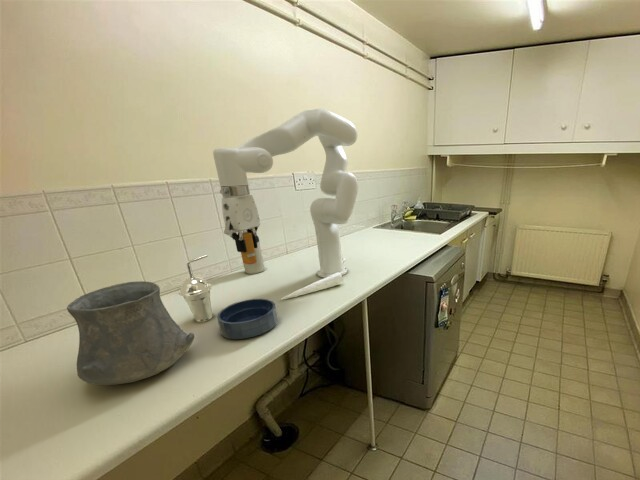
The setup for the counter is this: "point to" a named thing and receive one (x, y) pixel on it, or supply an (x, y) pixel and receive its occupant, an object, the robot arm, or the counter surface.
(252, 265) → the travel mug
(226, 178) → the robot arm
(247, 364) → the counter surface
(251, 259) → the supplement box
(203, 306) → the cup with straw
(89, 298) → the vessel
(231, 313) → the bowl
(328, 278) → the unicorn horn
